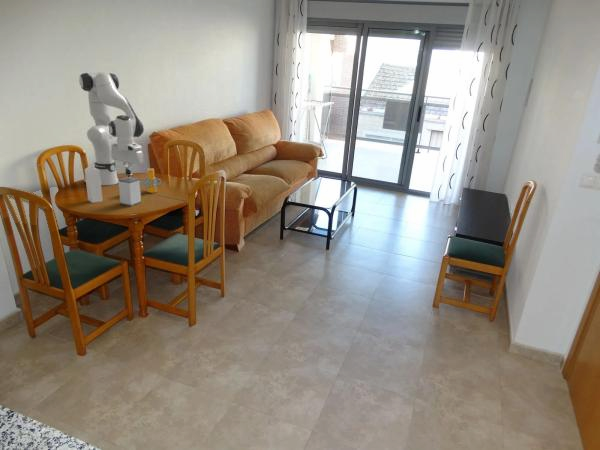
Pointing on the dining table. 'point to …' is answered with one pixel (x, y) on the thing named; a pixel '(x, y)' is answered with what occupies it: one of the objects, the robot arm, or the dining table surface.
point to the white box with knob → (130, 191)
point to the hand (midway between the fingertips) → (128, 169)
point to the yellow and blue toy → (151, 181)
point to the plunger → (128, 173)
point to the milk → (93, 184)
